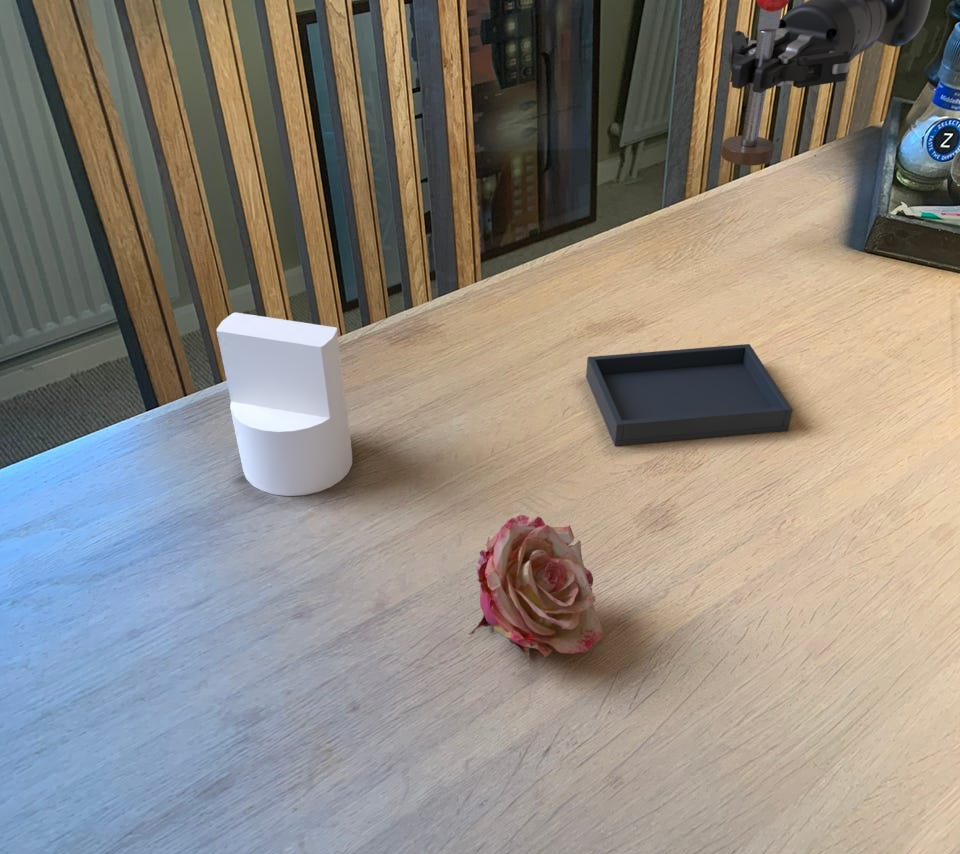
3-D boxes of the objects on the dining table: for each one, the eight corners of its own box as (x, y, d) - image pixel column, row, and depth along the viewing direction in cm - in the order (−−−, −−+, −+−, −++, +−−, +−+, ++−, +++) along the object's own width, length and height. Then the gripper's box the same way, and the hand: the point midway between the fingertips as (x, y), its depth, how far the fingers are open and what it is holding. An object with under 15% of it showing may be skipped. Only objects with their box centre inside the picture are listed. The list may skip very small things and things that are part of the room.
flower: (422, 635, 68) (480, 591, 61) (467, 532, 72) (525, 480, 66) (540, 706, 70) (607, 671, 64) (575, 602, 75) (641, 559, 69)
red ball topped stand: (762, 145, 108) (795, -43, 96) (779, 164, 104) (816, -30, 92) (714, 148, 108) (742, -41, 96) (730, 167, 104) (760, -27, 92)
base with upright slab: (223, 485, 83) (193, 349, 74) (272, 425, 89) (249, 294, 80) (326, 504, 81) (307, 368, 72) (368, 442, 87) (355, 309, 78)
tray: (745, 364, 96) (749, 343, 94) (788, 430, 88) (793, 409, 86) (585, 377, 94) (587, 356, 93) (614, 446, 86) (616, 424, 85)
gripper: (768, -14, 109) (688, 23, 99) (894, 5, 103) (823, 47, 93) (755, 64, 114) (679, 107, 104) (875, 87, 108) (805, 135, 98)
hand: (747, 79), depth 99 cm, fingers closed on red ball topped stand
